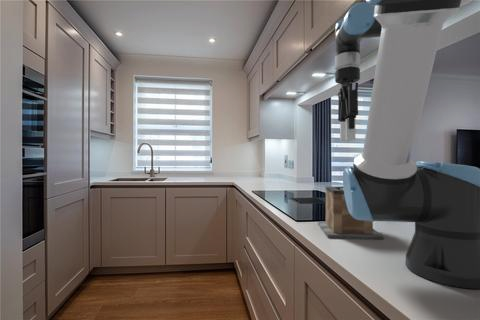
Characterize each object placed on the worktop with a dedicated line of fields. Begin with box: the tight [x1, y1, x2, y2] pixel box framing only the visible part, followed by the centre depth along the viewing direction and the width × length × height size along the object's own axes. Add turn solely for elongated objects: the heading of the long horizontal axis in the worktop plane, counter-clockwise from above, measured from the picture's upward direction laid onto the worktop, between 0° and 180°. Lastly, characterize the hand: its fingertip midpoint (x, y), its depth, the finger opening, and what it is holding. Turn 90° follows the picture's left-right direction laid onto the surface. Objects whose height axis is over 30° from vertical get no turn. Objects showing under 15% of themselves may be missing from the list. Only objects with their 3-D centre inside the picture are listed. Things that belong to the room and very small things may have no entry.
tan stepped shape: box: [317, 186, 384, 240], centre depth 88 cm, size 16×16×14 cm
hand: (347, 140), depth 87 cm, fingers open, 6 cm apart
